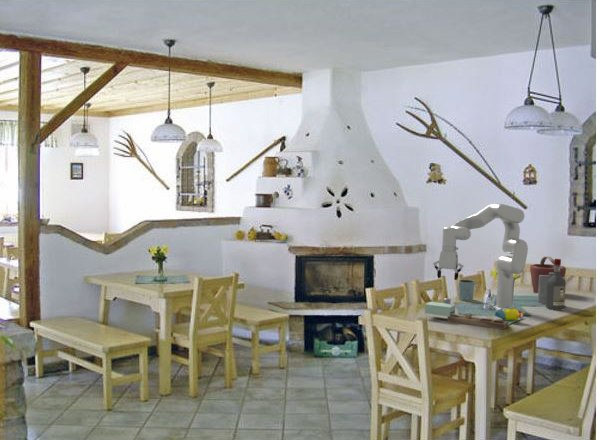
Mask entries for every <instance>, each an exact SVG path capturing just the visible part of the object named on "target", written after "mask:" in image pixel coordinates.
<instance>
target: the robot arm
mask: <svg viewBox="0 0 597 440" xmlns="http://www.w3.org/2000/svg"><path fill="white" fill-rule="evenodd" d="M495 219H500V221H501V222H502V224H503V226H504V235H503V240H502V245H501V247H502V249H501V250H502V251H503V252H504V253H506V254H509V255H501V256H499V257H498V258H497V260H496V265H495V266H496V272H497V283H496V284H497V286H496V304H495V306H494V305H493V309H494V310H495V309H496V308H497V309H498V308H505V307H513V308H515V309H516V306H514V295H515V294H514V291H515V289H514V288H515V275H519V274H521V273H523V272H524V269H525V267H526V262H527V256H528V251H529V246H528V243H527V242H526V241H525V240H524V239H522V238H520V235H521V228H520V224H521V223H523V221H524V219H525V213H524V211H523V209H521V208H518V207H514V206H511V205H507V204H503V203H494V202H493V203H490V204H488V205H487V206H485V207H483V208H482V209H480V210H479V211H478V212H476V213H475V214H472V215H470V216H468V217H465V218H463V219H460V220H458V221H456V222H455V223H454V224H452V225H451V226H444V227H443V229H442V242H441V244H442V246H441V250H440V253H439V254H440V255H439V260H437V261H435V262H433V263H432V265H433V267H434V269H435V270H436V271H437V274H436V275H437V279H440V278H442V269H446V270H453V271H454V281H457V280H458V279H459V273H460V272H461V271H462V270H463V269H464V264H462V263H461V262H459V257H458V250H459V247H458V246H457V240H458V241H467V240H468V239H470V238H471V236H472V233H471V230H476V229H480V228H483V227H486V225H488V224H489V223H491V222H492V221H494V220H495ZM510 255H512V256H510ZM458 267H459V268H458ZM514 274H515V275H514Z"/></svg>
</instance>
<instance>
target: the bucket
mask: <svg viewBox="0 0 597 440" xmlns="http://www.w3.org/2000/svg"><path fill="white" fill-rule="evenodd" d="M547 259H548V261H550V262H551V264H548V263H547V264H545V263H546V260H547ZM554 261H555V258H553V257H552V256H543V257H541V259H540V262H539V263H535V264H534V263H533V264H530V266H529V268H530V269H529V270H530V277H531V278H530V279H531V284H532V290H533V293H534V294H537V293H538V290H539V275H550V274H549V273H554V266H555V264H554ZM566 270H567V268H566V266H564V265H560V274H561V277H562V278H566V277H565V276H566V273H567V272H566Z"/></svg>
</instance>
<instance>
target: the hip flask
mask: <svg viewBox="0 0 597 440" xmlns="http://www.w3.org/2000/svg"><path fill="white" fill-rule="evenodd" d="M549 274H550V275H539V290H538V294H537V304H539V303H543V304H542V305H545V304H546V302H547V282H548V280H549V279H550V278H551V277H552V276H553V275H554V273H549ZM563 279H564V280H565V281H566V277H564V278H563Z"/></svg>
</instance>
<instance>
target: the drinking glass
mask: <svg viewBox="0 0 597 440" xmlns="http://www.w3.org/2000/svg"><path fill="white" fill-rule="evenodd" d="M475 284H476V282H475V280H472V279H459V280H458V300H459V301H465V302H470V301H471V302H472V301H474V291H475Z"/></svg>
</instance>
